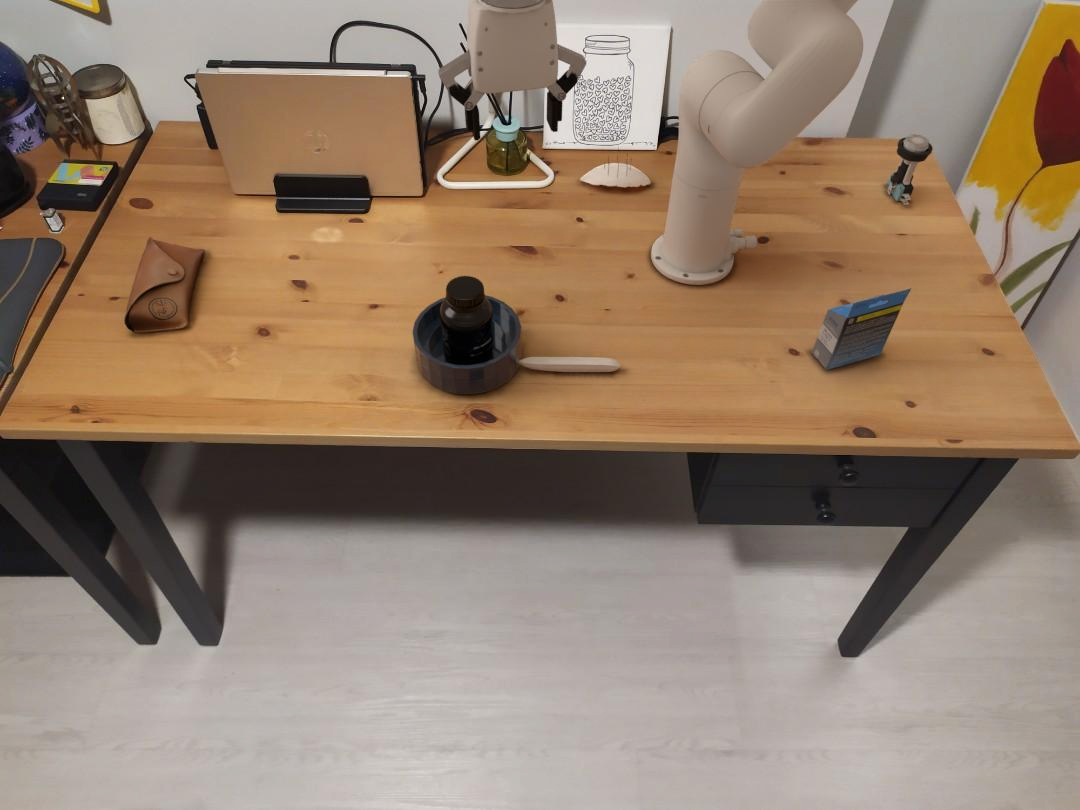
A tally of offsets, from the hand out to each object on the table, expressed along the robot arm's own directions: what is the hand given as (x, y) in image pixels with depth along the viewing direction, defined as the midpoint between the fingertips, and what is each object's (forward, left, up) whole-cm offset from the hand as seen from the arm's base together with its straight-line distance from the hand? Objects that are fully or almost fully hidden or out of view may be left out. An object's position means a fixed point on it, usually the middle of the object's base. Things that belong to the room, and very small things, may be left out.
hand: (514, 130), depth 100 cm
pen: (-5, +8, -22) cm, 24 cm away
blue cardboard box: (-42, +22, -26) cm, 54 cm away
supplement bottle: (+9, +12, -26) cm, 30 cm away
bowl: (+9, +12, -26) cm, 30 cm away
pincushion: (-22, -24, -26) cm, 42 cm away
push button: (-68, -11, -26) cm, 74 cm away
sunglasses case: (+50, -11, -26) cm, 58 cm away
